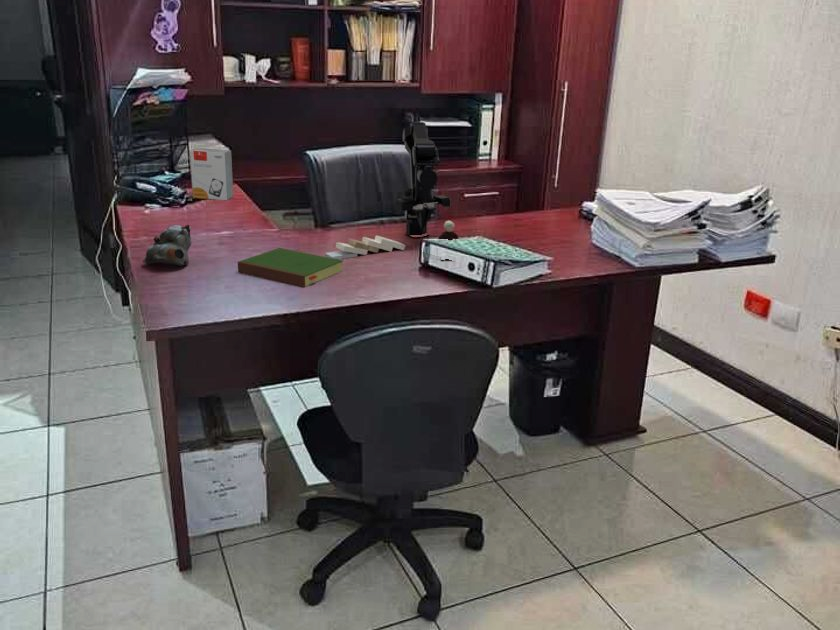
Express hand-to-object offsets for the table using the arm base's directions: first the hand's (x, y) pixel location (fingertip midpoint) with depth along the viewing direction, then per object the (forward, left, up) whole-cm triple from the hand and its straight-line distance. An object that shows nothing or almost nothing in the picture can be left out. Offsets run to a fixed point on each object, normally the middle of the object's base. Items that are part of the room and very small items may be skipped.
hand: (422, 228), depth 247 cm
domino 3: (+18, 0, -5) cm, 18 cm away
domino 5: (+8, 0, -5) cm, 10 cm away
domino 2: (+22, 0, -5) cm, 23 cm away
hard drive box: (+42, -102, -6) cm, 110 cm away
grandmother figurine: (+1, +18, -6) cm, 19 cm away
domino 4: (+12, 0, -5) cm, 14 cm away
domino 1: (+25, 0, -6) cm, 26 cm away
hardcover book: (+50, +9, -7) cm, 51 cm away
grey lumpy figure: (+80, -14, -6) cm, 82 cm away
